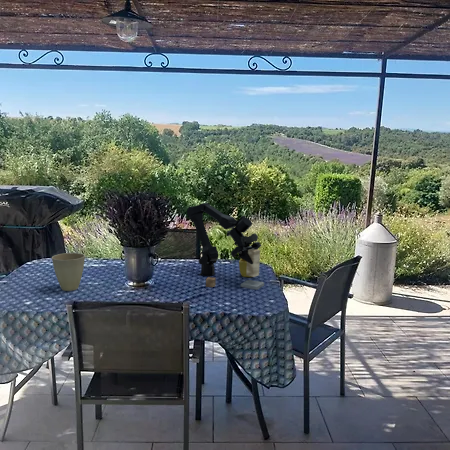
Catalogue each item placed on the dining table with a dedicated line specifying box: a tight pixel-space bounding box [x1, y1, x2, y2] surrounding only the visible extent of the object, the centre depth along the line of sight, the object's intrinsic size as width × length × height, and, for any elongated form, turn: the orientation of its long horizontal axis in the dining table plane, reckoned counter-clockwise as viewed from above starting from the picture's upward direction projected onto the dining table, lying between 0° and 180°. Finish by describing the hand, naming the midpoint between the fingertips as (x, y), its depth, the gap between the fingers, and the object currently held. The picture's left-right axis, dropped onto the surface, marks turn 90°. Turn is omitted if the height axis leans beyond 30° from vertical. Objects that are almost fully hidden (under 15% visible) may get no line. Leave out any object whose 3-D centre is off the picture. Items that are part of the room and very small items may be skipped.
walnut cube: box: [205, 276, 217, 288], centre depth 227 cm, size 4×4×4 cm
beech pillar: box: [246, 249, 261, 278], centre depth 227 cm, size 4×4×13 cm
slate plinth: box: [240, 279, 265, 290], centre depth 228 cm, size 9×9×2 cm
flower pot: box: [238, 258, 252, 278], centre depth 246 cm, size 9×9×9 cm
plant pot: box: [51, 252, 86, 292], centre depth 215 cm, size 15×15×16 cm
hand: (255, 263), depth 226 cm, fingers closed on beech pillar, 4 cm apart
